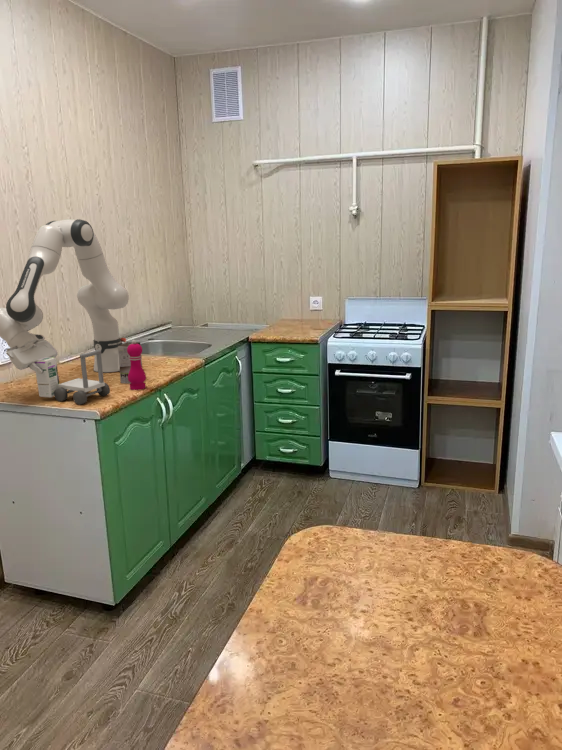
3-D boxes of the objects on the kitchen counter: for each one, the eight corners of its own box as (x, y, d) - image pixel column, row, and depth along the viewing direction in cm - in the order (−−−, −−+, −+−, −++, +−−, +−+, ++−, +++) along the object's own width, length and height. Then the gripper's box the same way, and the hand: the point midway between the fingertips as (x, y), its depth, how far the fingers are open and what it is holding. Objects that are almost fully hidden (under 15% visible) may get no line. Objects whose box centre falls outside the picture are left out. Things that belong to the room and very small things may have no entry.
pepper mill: (131, 385, 241) (127, 338, 236) (148, 385, 241) (145, 338, 236) (126, 390, 234) (122, 341, 229) (144, 390, 234) (140, 341, 229)
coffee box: (134, 383, 244) (131, 346, 240) (120, 383, 245) (116, 345, 241) (143, 378, 253) (140, 341, 249) (130, 377, 254) (126, 341, 250)
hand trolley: (82, 391, 234) (77, 345, 230) (110, 395, 228) (106, 348, 223) (54, 400, 222) (49, 352, 218) (83, 405, 216) (78, 356, 211)
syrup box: (51, 397, 221) (46, 360, 217) (38, 396, 223) (33, 359, 219) (61, 393, 226) (56, 357, 223) (48, 392, 228) (43, 356, 224)
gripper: (7, 344, 211) (33, 371, 211) (45, 334, 230) (69, 359, 230) (-1, 355, 214) (24, 383, 213) (37, 344, 233) (60, 369, 232)
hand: (48, 370), depth 222 cm, fingers closed on syrup box, 6 cm apart
